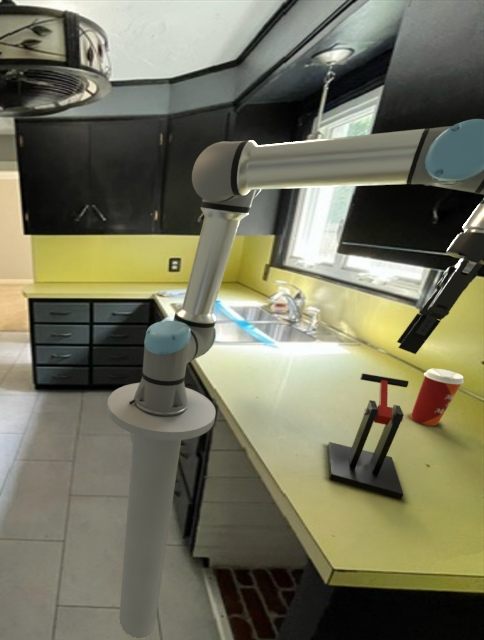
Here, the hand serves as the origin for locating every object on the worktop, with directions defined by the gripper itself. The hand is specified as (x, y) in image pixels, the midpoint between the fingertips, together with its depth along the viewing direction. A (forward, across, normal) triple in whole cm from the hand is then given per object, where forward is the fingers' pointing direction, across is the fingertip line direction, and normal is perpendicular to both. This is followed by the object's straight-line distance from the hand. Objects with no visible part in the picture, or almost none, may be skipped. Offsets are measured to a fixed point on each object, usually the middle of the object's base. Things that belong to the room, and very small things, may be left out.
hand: (405, 347), depth 71 cm
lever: (+12, +2, -2) cm, 12 cm away
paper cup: (+18, +37, -16) cm, 44 cm away
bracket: (+27, 0, -7) cm, 27 cm away
